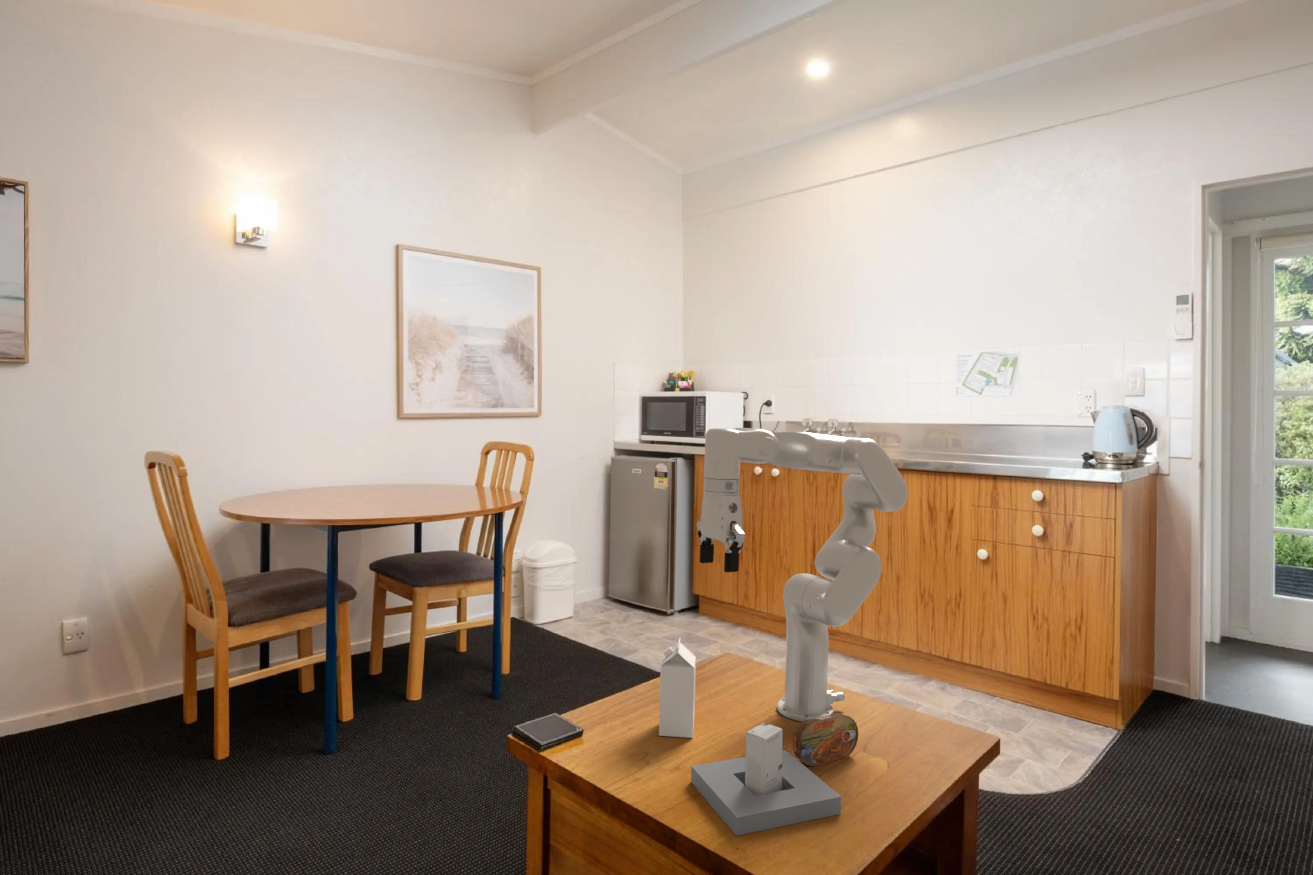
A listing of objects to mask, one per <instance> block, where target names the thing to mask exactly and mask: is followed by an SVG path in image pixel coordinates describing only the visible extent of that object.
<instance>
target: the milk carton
mask: <svg viewBox="0 0 1313 875" xmlns="http://www.w3.org/2000/svg"><path fill="white" fill-rule="evenodd" d="M662 653H663V655H662V656H663V657H662V660H661V663H660V672H659V673H660V677H659V678H660V679H659V687H660V688H659V715H658V716H659V718H658V719H659V720H658V721H659V722H658V736H660V737H661V736H662V737H672V738H689V739H693V736H694V731H695V730H694V729H695V708H696V707H695V705H696V704H695V703H696V702H695V701H696V673H697V672H696V670H697V669H696V666H697V664H696V663H697V657H696V655H695V654H694V653H692V652H691V650H689V649H688V648H687V647H686V646H685V645H684V644H683V643H682V642H681V637H679V639H678V642H677V644H676V645H674V646H673V647H672V646H668V647H667V648H665V649H664V651H663V652H662Z"/></svg>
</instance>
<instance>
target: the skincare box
mask: <svg viewBox="0 0 1313 875" xmlns="http://www.w3.org/2000/svg"><path fill="white" fill-rule="evenodd" d="M783 734H784V733H783V728H781V727H778V726H775V725H773V724H769V723H766V722H763V723H761V724H759V725H757V726H753V727H752V728H751V729H749V730H748V731H746V732H745V757H746V764H745V786H746V787H747V788H748V790H749V791H750V792H751V793H752V794H753V795H754V796H756V795H761V794H767V793H772V792H777V791H782V751H783V745H784V744H783V740H784V738H783V736H784V735H783Z"/></svg>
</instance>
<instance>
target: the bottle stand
mask: <svg viewBox="0 0 1313 875" xmlns="http://www.w3.org/2000/svg"><path fill="white" fill-rule="evenodd" d="M745 764H746V756H744V757H737V758H732V759H724V760H720V761H712V762H707V763H701V764H695V765H691V766H690V767H691V770H690V776H691V777H690V783H691V784H692V785H693V786H694V787H695V789H697V791H698V792H699V793H700V795H701V796H702V797H703V798H704V800H706V802H707V803H708V804H709V806H710V807H711V808H712V809H713V810H714V812H716V814H717V815H718V816H719V817H720V818H721V820H722V821H723V822H724V823H725V824H726V826H727V827H728V828H729V829H730V830H731V831H732V833H733V834H734V835H735V836H736V837H738V836H743V835H746V834H752V833H757V832H761V831H762V832H763V831H766V830H770V829H775V828H782V827H785V826H789V825H795V824H800V823H804V822H807V821H812V820H813V821H814V820H818V819H823V818H828V817H832V816H838V815H841V814H842V813H841V812H842V796H841V795H840V794H839V793H837V792H836V791H835V790H834V789H833V788H831V787H830V786H829V784H827V783H826V782H824V780H822V779H821V778H820V777H819V776H817V775H816V774H815V773H814V772H813V771H811V770H810V769H809V768H808V767H807V766H805V765H804V764H803V763H802V762H801V761H799V759H798V758H797V757H794V756H793V755H792V754H791V753H790V752H789V751H787V750H786V749H785V750H784V749H783V750H782V791H777V792H772V793H767V794H761V795H756V796H754V795H753V794H752V793H751V792H750V791H749V790H748V788H747V787H746V786H745Z"/></svg>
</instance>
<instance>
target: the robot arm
mask: <svg viewBox="0 0 1313 875" xmlns="http://www.w3.org/2000/svg"><path fill="white" fill-rule="evenodd" d="M704 441H705V442H704V463H703V464H704V467H703V496H702V503H701V513H700V519H699V520H698V521H697V522H696V528H697V536H698V537H699V540H698V544H699V563H700V564H711V563H714V558H715V557H714V555H715V554H714V553H715V552H714V551H715V544H714V543H713V541H716V542H720V543H723V545H724V548H725V550H726V552H724V561H723V562H724V563H723V564H724V565H723V570H724V571H723V572H724V573H737V572H738V571H739V567H740V566H739V563H740V557H739V556H740V554H741V552H742V548H743V547H744V541H745V539H746V533H745V532H744V530H743V505H742V498H741V495H740V475H741V463H748V464H756V465H759V464H760V465H761V464H763V465H765V464H766V465H772V466H779V467H782V468H788V469H793V470H801V471H802V470H803V471H815V472H826V473H835V474H837V473H838V474H848V476H846V478H845V480H844V481H843V483H842V489H841V490H842V498H843V499H842V500H843V506H844V510H843V511H844V512H843V517H842V519H841V521H840V522H839V524H838V525H837V527H836V529H834V531H833V533H831V535H830V536H829V538H828V539H827V540H826V541H825V542H824V543H823V545H822V546H821V548H820V549H819V551H817V554H816V556H815V559H814V566H815V570H816V572H817V573H819V575H821V576H822V577H821V576H818V575H815V574H811V573H807V572H806V573H805V572H804V573H797V574H794V575H793V576H792V575H791V577H790V578H788V580H787V581H786V583H785V584H784V587H783V592H782V595H783V596H782V598H783V600H782V601H783V606H784V613H785V623H786V624H785V625H786V637H785V638H786V639H785V640H786V641H785V642H786V643H785V644H786V645H785V673H784V674H785V675H784V676H785V677H784V697H783V698H782V699H779V700H778V702H777V707H776V708H777V711H778V712H779V714H781V715H782V716H784V717H785V718H788V719H790V720H791V719H792V720H794V721H799V722H803V721H805V720H809V719H813V718H817V717H821V716H825V715H830V714H834V707H833V706H832V704H834V702H843V701H845V699H846V695H845V694H844V692H842V691H839V692H834V691H833V689H830V690H829V689H828V671H829V670H828V667H829V644H830V643H829V639H830V638H829V636H830V635H829V629H828V626H829V627H833V628H838V627H842V626H844V625H846V624H847V623H848V622H849V621H851V619H852V618H853V617H854V616H855V614H856V613H857V612H858V610H859V609H860V607H861V606H862V605H863V603H864V602H865V601H866V599H867V598H868V597H869V595H870V594H871V593H872V591H873V590H874V588H875V587H876V586H877V584H878V582H879V580H880V578H881V575H882V574H881V573H882V561H881V560H882V559H881V558H880V555H879V554H878V553H877V551H876V550H874V549H873V548H871V547H870V546H871V545H872V543H873V542H874V540H875V537H876V534H877V523H876V518H875V517H876V516H875V513H874V510H875V511H880V512H885V513H886V512H887V513H892V512H893V513H894V512H898V511H900V510H902V509H903V507H905V506H906V503H907V502H908V499H909V498H908V497H909V489H908V486H907V482H906V481H905V479H904V477H903V475H901V473H900V471H899V470H898V468H897V466H896V465H895V464H894V462H893V461H892V459H891V458H890V456H889V455H888V454H887V452H886V451H885V450H884V449H883V447H882V446H881V445H880V444H878V442H876V441H875V440H874V439H871V438H864V437H849V436H848V437H847V436H839V435H829V434H822V433H815V432H806V431H769V430H766V429H764V428H754V427H753V428H752V427H750V428H749V427H733V428H717V427H715V428H710V429H708V430H707V431H706V433H705V440H704Z"/></svg>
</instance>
